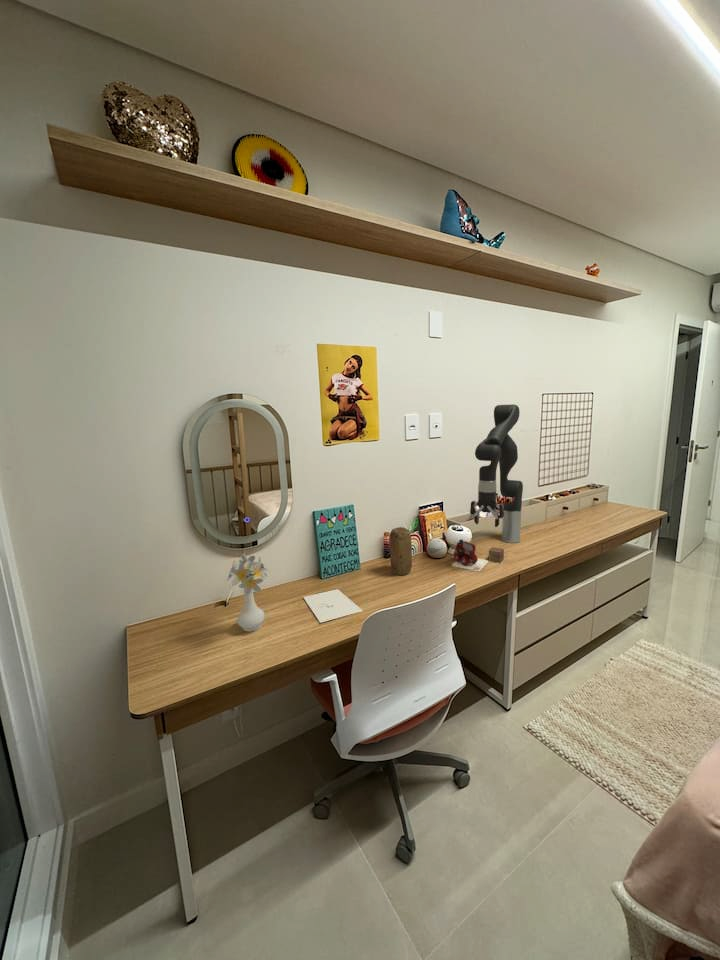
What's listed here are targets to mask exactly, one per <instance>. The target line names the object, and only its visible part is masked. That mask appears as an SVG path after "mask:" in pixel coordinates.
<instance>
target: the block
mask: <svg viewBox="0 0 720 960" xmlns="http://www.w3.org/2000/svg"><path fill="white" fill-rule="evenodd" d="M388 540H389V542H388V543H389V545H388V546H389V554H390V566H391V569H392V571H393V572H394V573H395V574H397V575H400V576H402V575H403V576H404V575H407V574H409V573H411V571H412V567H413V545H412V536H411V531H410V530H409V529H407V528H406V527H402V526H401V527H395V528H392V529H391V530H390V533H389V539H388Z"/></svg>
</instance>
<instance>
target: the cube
mask: <svg viewBox="0 0 720 960" xmlns="http://www.w3.org/2000/svg"><path fill="white" fill-rule="evenodd" d="M504 556H505V548H503V547H497V546H492V547H490V549H488V561H489V562H492V563H497V564H501V563H502V562H503V561H504V559H505V558H504Z"/></svg>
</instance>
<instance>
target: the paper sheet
mask: <svg viewBox="0 0 720 960" xmlns="http://www.w3.org/2000/svg"><path fill="white" fill-rule="evenodd" d="M302 598H303V599H304V600H305V602H306V604H307V606H309V608H310V610H311V612H313V613H314V615H315V618H317V619H316V620H318V621H319V623H325V622H328V621H331V620H334V619H339V618H342V617H346V616H349V615H354V614H356V613H361V612H363V611H364V610H363V609H362V608H361V607H359V606H358V605H357V604H356V603H354V602H353V601H352V600H351V599H350V598H349V597H347V595H346V594H344V593H343V592H342V591H341V590H339V589H332V590H329V591H324V592H320V593H315V594H310V595H307V596H302Z"/></svg>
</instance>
